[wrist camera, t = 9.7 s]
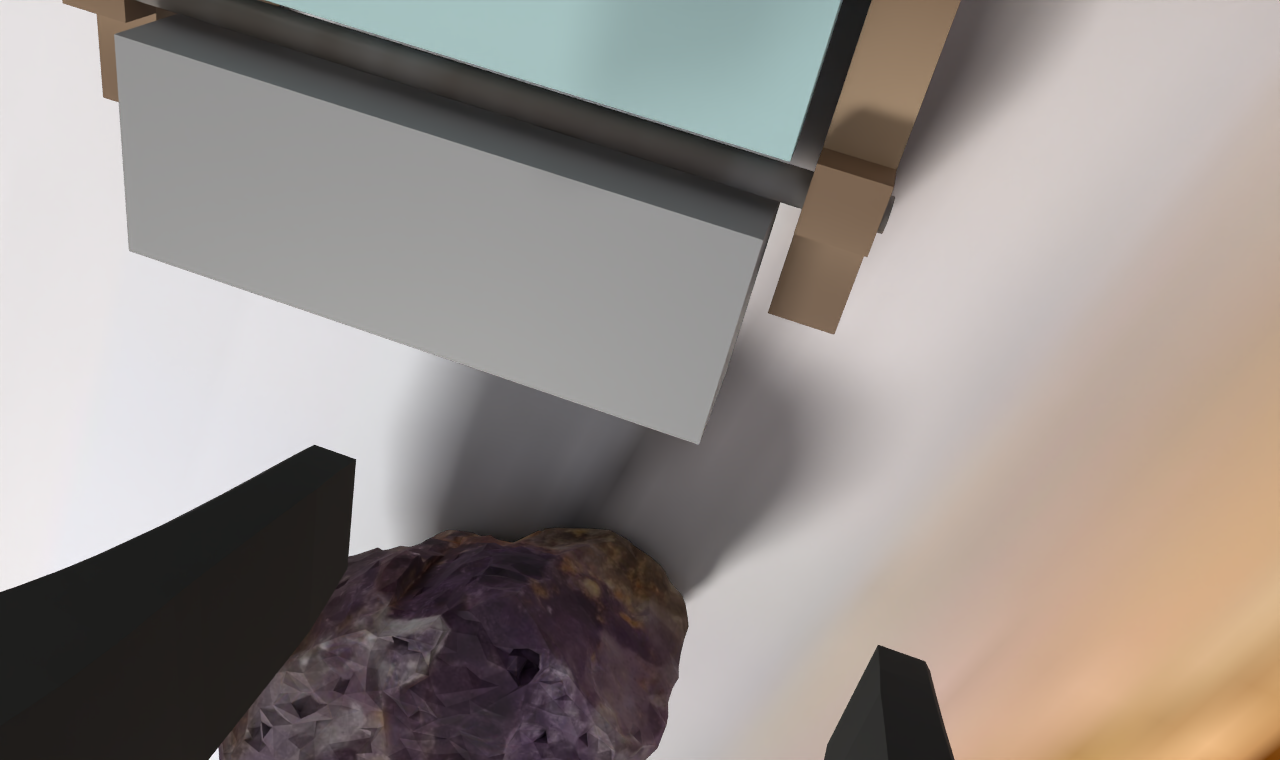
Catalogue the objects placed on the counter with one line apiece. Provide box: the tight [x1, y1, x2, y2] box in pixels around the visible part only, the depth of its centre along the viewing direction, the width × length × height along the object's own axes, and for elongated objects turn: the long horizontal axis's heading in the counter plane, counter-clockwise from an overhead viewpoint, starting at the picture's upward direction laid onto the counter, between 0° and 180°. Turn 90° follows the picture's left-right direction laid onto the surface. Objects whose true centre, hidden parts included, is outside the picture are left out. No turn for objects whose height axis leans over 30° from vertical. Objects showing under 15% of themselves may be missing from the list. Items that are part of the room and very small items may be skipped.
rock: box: [219, 528, 689, 760], centre depth 26 cm, size 12×9×10 cm
